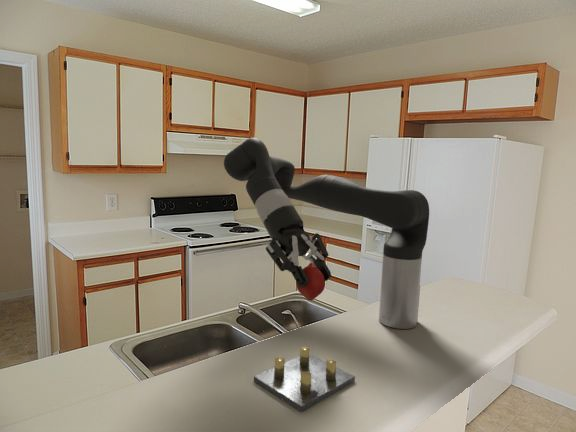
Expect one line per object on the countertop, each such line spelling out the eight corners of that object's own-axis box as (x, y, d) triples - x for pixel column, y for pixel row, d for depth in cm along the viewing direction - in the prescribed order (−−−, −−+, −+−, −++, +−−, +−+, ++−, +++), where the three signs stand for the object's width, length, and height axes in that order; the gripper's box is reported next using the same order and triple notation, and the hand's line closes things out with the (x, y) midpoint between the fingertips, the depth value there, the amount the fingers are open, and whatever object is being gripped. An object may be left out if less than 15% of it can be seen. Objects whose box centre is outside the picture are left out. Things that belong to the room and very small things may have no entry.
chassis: (307, 357, 84) (307, 338, 84) (354, 381, 76) (355, 360, 75) (253, 381, 75) (254, 360, 74) (301, 412, 66) (302, 388, 65)
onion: (291, 296, 85) (292, 259, 84) (317, 294, 87) (318, 257, 86) (301, 306, 80) (303, 266, 79) (328, 304, 82) (330, 264, 81)
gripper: (294, 222, 96) (330, 285, 89) (243, 228, 86) (280, 299, 79) (311, 202, 91) (351, 266, 84) (260, 206, 81) (300, 279, 74)
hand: (316, 281), depth 81 cm, fingers closed on onion, 5 cm apart
